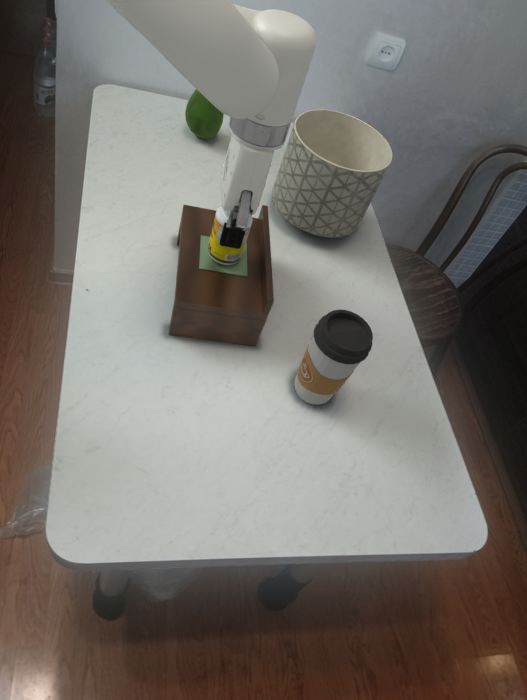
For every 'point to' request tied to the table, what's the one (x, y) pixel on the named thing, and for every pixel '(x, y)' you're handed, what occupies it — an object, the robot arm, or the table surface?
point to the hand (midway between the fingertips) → (230, 230)
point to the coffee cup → (332, 355)
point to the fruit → (203, 116)
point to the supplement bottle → (214, 248)
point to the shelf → (221, 283)
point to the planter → (330, 172)
